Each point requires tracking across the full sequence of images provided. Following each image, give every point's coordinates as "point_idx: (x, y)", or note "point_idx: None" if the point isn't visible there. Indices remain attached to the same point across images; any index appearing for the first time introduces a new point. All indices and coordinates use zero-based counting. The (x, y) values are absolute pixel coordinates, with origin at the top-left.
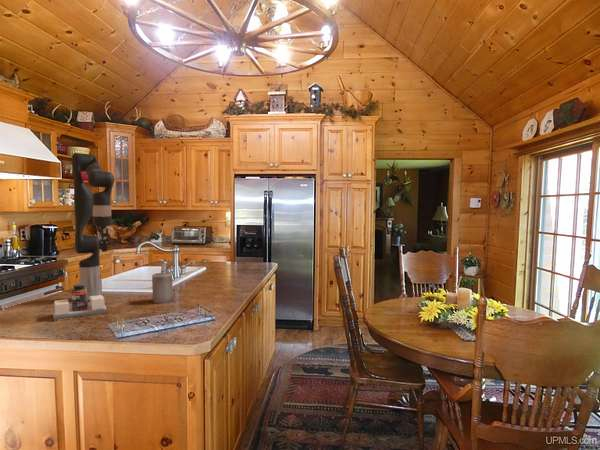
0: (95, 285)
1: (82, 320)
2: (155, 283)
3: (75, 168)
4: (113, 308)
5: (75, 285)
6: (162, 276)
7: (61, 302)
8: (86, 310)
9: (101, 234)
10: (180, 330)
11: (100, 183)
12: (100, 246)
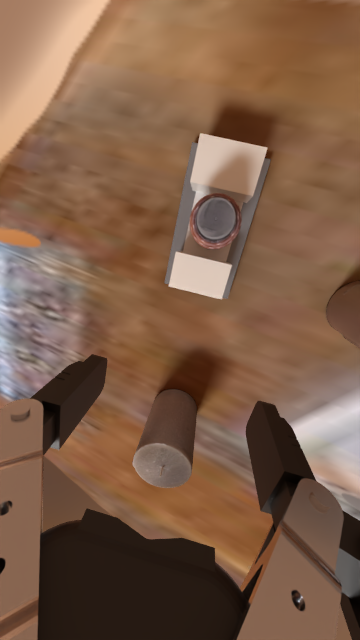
0: (354, 329)
1: (147, 214)
2: (156, 426)
3: None
4: (197, 309)
5: (212, 202)
6: (136, 454)
7: (221, 163)
8: (188, 238)
9: None
10: None
11: None
12: (261, 426)
